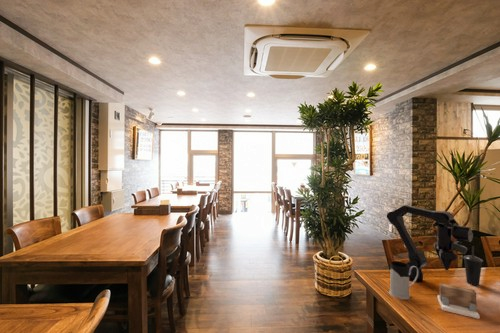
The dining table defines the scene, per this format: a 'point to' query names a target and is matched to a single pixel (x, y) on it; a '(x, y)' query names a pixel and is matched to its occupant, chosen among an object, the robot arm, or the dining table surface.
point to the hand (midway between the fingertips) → (444, 266)
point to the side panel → (459, 308)
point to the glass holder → (400, 280)
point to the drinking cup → (473, 268)
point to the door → (457, 295)
